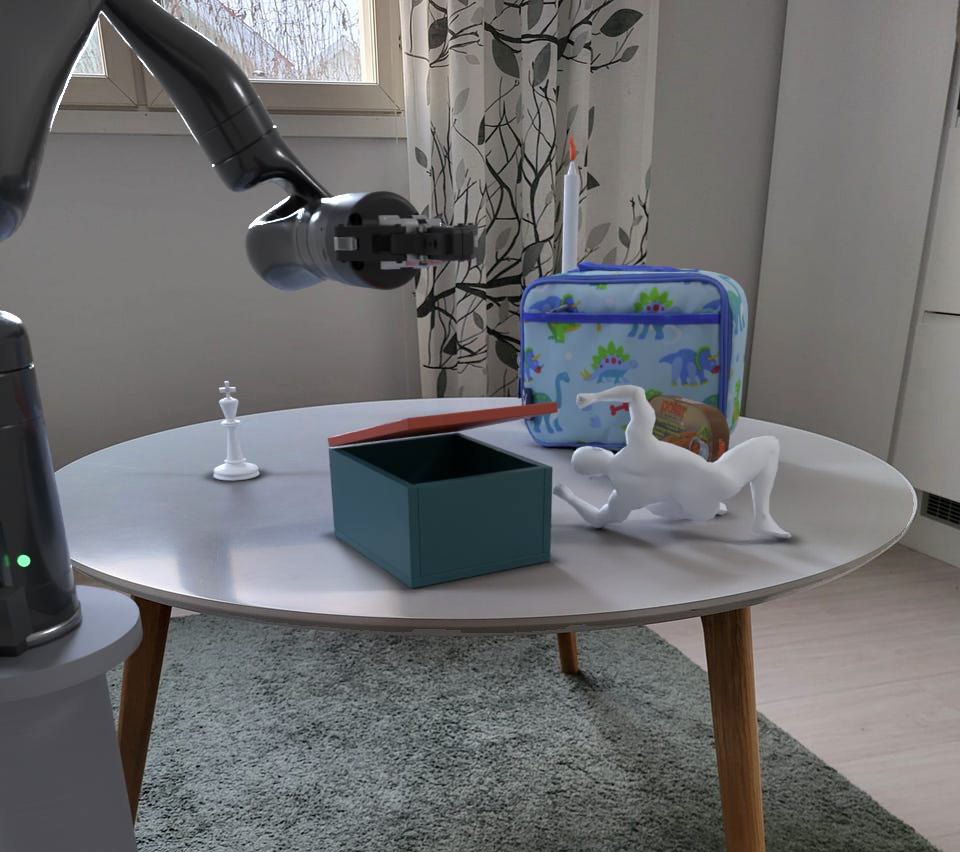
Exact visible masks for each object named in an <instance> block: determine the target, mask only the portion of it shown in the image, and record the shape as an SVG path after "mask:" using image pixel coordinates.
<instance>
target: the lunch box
mask: <svg viewBox="0 0 960 852" xmlns="http://www.w3.org/2000/svg"><path fill="white" fill-rule="evenodd" d="M519 307H520V308H519V310H520V311H519V312H520V313H519V315H520V317H519V318H520V319H519V324H520V327H519V328H520V329H519V331H520V332H519V334H520V342H519V343H520V348H519V349H520V354H518V356H517V357H516V363H517V365H518V366H519V368H517V399H518V400H519V399H520V400H521V405H530V404H539V403H548V402H557V408H558V412H556V413H551V414H546V415H541V416H536V417H530V418H525V419H523V420H524V423H525V426H526V429H527V431H528V433H529V435H530V436H531V438H532V439H533V441H534V442H535V443H537V444H538V445H540V446H542V447H548V448H550V447H559V448H564V447H569V448H570V447H571V448H577V449H579V448H581V447H585V446H589V447H598V448H602V449H605V450H608V451H616V452H619V451H620V450H622V449H623V448H624V447H626V446H627V442H626V435H625V431H626V429H627V426H628V424H629V423H630V421H631V416H630V411H629V406H630V402H627V403H625V402H618V401H598V402H595V403H592V404H590V405H588V406H586V407H584V408H582V409H581V410H580V409H579V407H578V405H576V400H577V395H578V394H579V393H598V392H603V391H605V390H608V389H611V388H614V387H616V386H624V385H633V386H637V387H641V388H643V389H644V390H645V395H646V400H648V399H649V398H650V397H651V396H653V395H656V394H660V395H673V396H679V397H683V398H686V399H689V400H693V401H696V402H700V403H704V404H707V405H711V406H714V407H716V408H718V409H719V410H720V411H721V412H722V414H723V415H724V417H725V419H726V421H727V424H728V427H729V432H730V436H731V435H732V434H733V433H734V431H735V429H736V427H737V425H738V424H739V423H738V422H739V419H740V414H741V405H742V397H743V383H744V382H743V381H744V370H745V359H746V346H747V335H748V325H749V308H748V307H749V306H748V301H747V296H746V293H745V291H744V289H743V287H742V286H741V284H739V283H738V282H737V281H736V280H735V279H734V278H732V277H730V276H727V275H726V274H722V273H719V272H714V271H709V270H703V269H702V270H700V269H699V268H696V269H695V268H694V269H693V268H692V269H691V268H679V267H672V266H666V265H657V266H654V265H653V266H652V265H641V264H640V265H639V264H634V265H632V264H631V265H630V264H629V265H628V264H606V263H605V264H603V263H602V264H600V263H599V264H598V263H595V262H591V261H589V260H585V261H582V262H579V263H577V269H574V270H571V271H567V273H562V272H561V273H556V274H552V275H549V276H542V277H541V276H540V277H539V278H536V279H534V280H532V281H531V282H530V283H528V285H526V287H525V289H524V290H523V292H522V296H521V300H520V306H519Z"/></svg>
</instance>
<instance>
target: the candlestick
mask: <svg viewBox="0 0 960 852" xmlns="http://www.w3.org/2000/svg"><path fill="white" fill-rule="evenodd" d="M568 144H569V146H570V148H569V159H570V163H569V168H568V171H567V174H564V181H563V184H564V185H563V216H562V217H563V219H562V253H561V254H562V255H561V257H562V259H561V273H567V271H571V270H574V269H577V268H578V266H577V264H578V240H579V239H578V238H579V212H580V211H579V207H580V177H581V175H580V174H578V173H577V168H576V162H575V160H576V156H577V146H576V144H575V143H574V134H573V133H571V135H570V138H569V140H568Z"/></svg>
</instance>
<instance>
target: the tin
mask: <svg viewBox="0 0 960 852" xmlns="http://www.w3.org/2000/svg"><path fill="white" fill-rule="evenodd" d="M647 401H648V402H649V404H650V405H651V406H652V408H653V409H654V412H655V423H654V426H653V430H652V435H653V436H654V437H655V438H656V439H658V440H659V441H663V442H667V443H671V444H674V445H676V446H679V447H682V448H685V449H687V450H689V451H691V452H693V453H695V454H697V455H699V456H701V457H702V458H704V459H705V460H706V461H707V462H711V463H713V462H715V461H717V460H718V459H719V458H720V457H721V456H722V455H723V454H724V453H725V452H727V451H729V450H730V440H731V439H730V438H731V435H730V432H729V427H728V424H727V421H726V419H725V417H724V415H723V414H722V412H721V411H720V410H719V409H718V408H716V407H714V406H711V405H707V404H704V403H700V402H696V401H693V400H689V399H686V398H683V397H679V396H673V395H660V394H656V395H653V396H651V397H650V398H649V399H648V400H647Z"/></svg>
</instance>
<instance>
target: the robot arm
mask: <svg viewBox="0 0 960 852" xmlns="http://www.w3.org/2000/svg"><path fill="white" fill-rule="evenodd" d="M101 13H102V15H104V17H105V18H106V19H107V21H108V22H109V23H110V24H111V25H112V26H113V27H114V29H115V30H116V31H117V33H118V34H119V35H120V36H121V37H122V39H123V40H124V42H125V43H126V44H127V45H128V46H129V47H130V49H131V50H132V52H134V54H135V55H136V56H137V58H138V59H139V60H140V61H141V62H142V63H143V65H144V66H145V67H146V68H147V70H148V71H149V73H150V74H151V75H152V77H153V78H154V79H155V80H156V81H157V83H158V84H159V86H160V87H161V88H162V89H163V92H164V93H165V94H166V96H168V98H169V99H170V101H171V102H172V104H173V105H174V107H175V109H176V110H177V112H178V113H179V114H180V117H182V119H183V121H184V123H185V124H186V126H187V128H188V129H189V130H190V133H191V134H192V136H193V137H194V139H195V140H196V142H197V144H198V145H199V147H200V148H201V151H202V152H203V153H204V155H205V157H206V159H207V160H208V162H209V163H210V165H212V168H213V169H214V171H215V173H216V174H217V176H218V177H219V180H220V181H221V182H222V183H223V185H224V186H225V188H226V189H228V190H229V191H230V192H232V193H244V192H248V191H250V190H253V189H255V188H258V187H261V186H264V185H267V184H271V183H273V184H275V185H277V186H279V187H280V188H282V189H283V190H284V191H285V193H286V194H287V196H288V197H286V198H285V199H283V200H282V201H280V202H279V203H278V204H276V205H274V206H273V207H272V208H270V209H269V210H268V211H266V212H265V213H263V214H262V215H260V216H258V217H257V218H256V219H255V220H254V221H253V222H252V223H251V224H250V225H249V226H248V229H247V230H246V233H245V236H244V249H245V254H246V258H247V261H248V263H249V264H250V267H251V268H252V270H253V271H254V272H255V274H256V275H257V276H258V277H259V278H260V279H261V280H263V282H265V283H266V284H268V285H270V286H271V287H273V288H276V289H278V290H281V291H287V292H289V291H290V292H293V291H299V290H303V289H306V288H310V287H313V286H315V285H318V284H321V283H323V282H325V281H333V282H334V281H335V282H338V283H340V284H343V285H346V286H351V287H357V288H364V289H372V290H379V291H392V290H395V289H398V288H401V287H403V286H405V285H406V284H408V283H409V282H410V281H412V280H413V279H414V278H415V277H416V275H417V274H418V272H420V270H421V269H429V267H442V265H443V263H445V264H447V263H449V262H458V263H460V262H461V263H463V262H467V261H468V262H469V261H470V260H474V259H476V258H479V224H474V222H467V223H466V224H465V223H464V222H457V224H455V225H454V224H453V225H448V223H445V222H444V223H443V221H442V219H441V218H440V217H438V218H435V217H434V218H428V216H427V215H426V214H420V213H419V211H418V210H417V209H416V206H414V204H413V203H411V202H410V201H409V200H408V199H407V198H405V197H404V196H402V195H401V194H398V193H396V192H393V191H388V190H375V191H361V192H347V193H341V194H339V195H337V196H334V195H333V194H332V192H330V191H329V189H327V188H326V186H325V185H324V184H323V183H322V182H320V181H319V179H317V177H316V176H315V175H314V174H313V173H312V172H311V171H310V170H309V169H308V168H307V167H306V165H305V164H304V163H303V161H301V160H300V158H299V157H298V155H296V154H295V152H294V151H293V150H292V148H291V147H290V146H289V145H288V143H287V142H286V141H285V139H284V137H283V136H282V134H281V133H280V131H279V129H278V127H277V126H276V125H275V122H274V120H273V118H272V116H271V115H270V113H269V111H268V110H267V109H266V106H265V104H264V103H263V101H262V99H261V97H260V95H259V94H258V92H257V89H255V87H254V85H253V84H252V82H251V81H250V79H249V77H248V76H247V74H246V73H245V72H244V71H243V69H242V68H241V67H240V65H238V63H237V62H236V61H235V60H234V59H233V58H232V57H231V56H230V55H229V54H228V53H227V52H225V51H224V50H223V49H222V48H221V47H219V46H218V45H217V44H215V43H214V42H212V40H210V39H208V38H207V37H206V36H204V34H202V33H200V32H198V31H196V30H195V29H193V28H192V27H191V26H189V25H188V24H186V23H185V22H183V21H182V20H180V19H179V18H178V17H176V16H175V15H173V14H172V13H170V11H168V10H166V9H165V8H164V7H162V6H161V5H160V3H157V1H155V0H0V244H1V243H3V242H5V241H7V240H8V239H10V238H12V237H13V235H15V233H16V232H18V230H19V229H20V227H21V226H22V224H23V222H24V221H25V219H26V217H27V215H28V211H29V210H30V207H31V204H32V201H33V199H34V196H35V195H34V194H35V191H36V188H37V184H38V181H39V177H40V173H41V169H42V165H43V161H44V157H45V154H46V149H47V145H48V141H49V137H50V134H51V130H52V126H53V123H54V120H55V116H56V114H57V111H58V108H59V105H60V103H61V101H62V98H63V95H64V93H65V90H66V88H67V86H68V83H69V82H70V81H69V80H70V79H71V77H72V74H73V71H74V70H75V67H76V65H77V63H78V62H79V60H80V58H81V56H82V54H83V53H84V51H85V50H86V48H87V46H88V44H89V41H90V39H91V37H92V36H93V33H94V31H95V28H96V26H97V24H98V22H99V19H100V17H101ZM31 344H32V343H31V340H30V335H29V332H28V328H27V327H26V325H25V323H24V322H23V321H22V320H21V319H20V318H19V317H17V316H16V315H14V314H13V313H11V312H9V311H5V310H2V309H0V657H17V656H20V655H22V654H23V653H24V652H26V651H27V650H29V649H32V648H35V647H38V646H41V645H44V644H47V643H50V642H53V641H55V640H57V639H60V638H62V637H64V636H66V635H67V634H69V633H71V632H72V631H74V630H75V629H76V628H77V627H78V626H79V625H80V624H81V622H82V620H83V614H82V609H81V604H80V601H79V600H78V596H77V590H76V585H77V584H76V581H75V575H74V569H73V564H72V560H71V555H70V550H69V545H68V539H67V534H66V528H65V523H64V518H63V512H62V507H61V501H60V497H59V491H58V486H57V479H56V474H55V470H54V464H53V459H52V454H51V453H52V452H51V448H50V443H49V438H48V437H49V436H48V432H47V428H46V427H47V426H46V421H45V416H44V410H43V404H42V400H41V394H40V388H39V382H38V376H37V371H36V367H35V364H34V363H35V360H34V355H33V349H32V345H31Z"/></svg>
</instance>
